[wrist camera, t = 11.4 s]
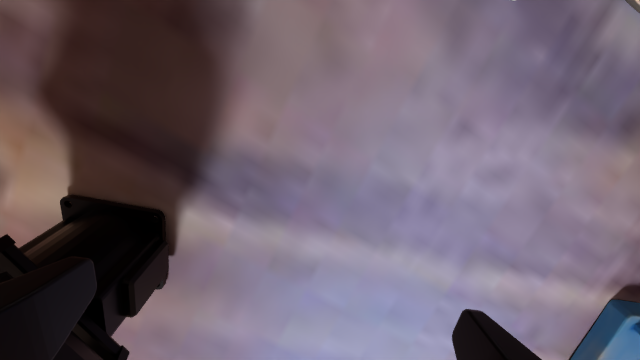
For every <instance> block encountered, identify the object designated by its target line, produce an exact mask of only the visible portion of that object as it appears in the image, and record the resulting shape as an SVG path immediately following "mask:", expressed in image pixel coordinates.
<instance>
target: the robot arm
mask: <svg viewBox="0 0 640 360" xmlns="http://www.w3.org/2000/svg"><path fill="white" fill-rule="evenodd" d="M70 202H71V203H72V204H71V203H70ZM60 205H61V211H62V217H63V221H62V222H60V223H58V224H57V225H55V226H54V227H52V228H50V229H49V230H47V231H46V232H44V233H43V234H41V235H39V236H38V237H36V238H35V239H33V240H31V241H30V242H28V243H27V244H25V245H23V246H22V247H20V248H17V247H16V246H15V245H14V244H15V243H16V242H15V241H14V240H13V239H12V238H11V237H10V236H8V235H7V234H6V235H4V236H3V237H1V238H0V360H127V358H128V355H129V351H128V350H127V349H126V348H125V347H124V346H123V345H122V346H120V345H119V344H118V343H117V342H116V341H115V340H114V339H113V338H111V336H112V335H113V334H114V332H115V331H116V330H117V328H118V327H119V326H120V324H121V323H122V322H123V320H124V319H125V318H126V317H134V316H135V315H137V314H138V312H139V311H140V309H141V308H142V307H143V305H144V304H145V303H146V301H147V300H148V299H149V297H150V296H151V294H152V293H153V292H154V290H155V289H162V288H163V286H164V285H165V284H166V274H167V273H168V243H167V241H166V232H165V215H164V213H163V212H162V211H160V210H156V209H151V208H145V207H139V206H133V205H128V204H122V203H116V202H111V201H105V200H99V199H93V198H88V197H82V196H76V195H67V196H65V197H63V198H62V199H61V200H60ZM154 216H156V217H157V218H158V219H156V218H155V217H154ZM452 341H453V346H454V350H455V354H456V358H457V360H542V359H540V358H539V357H538V356H537V355H535V354H534V353H533V352H532V351H530V350H529V349H528V348H527V347H526V346H524V345H523V344H522V343H521V342H519V341H518V340H517V339H516V338H514V337H513V336H512V335H511V334H510V333H508V332H507V331H506V330H505V329H503V328H502V327H501V326H500V325H498V324H497V323H496V322H495V321H494V320H492V319H491V318H490V317H489V316H487V315H486V314H485V313H484V312H482V311H479V310H471V309H465V310H464V311H462V313H461V315H460V317H459V320H458V322H457V324H456V326H455V328H454V330H453V334H452Z"/></svg>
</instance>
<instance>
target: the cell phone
mask: <svg viewBox="0 0 640 360" xmlns="http://www.w3.org/2000/svg"><path fill="white" fill-rule="evenodd" d="M625 1H626V2H627V3H629V4H630V5H631V6H632V7H633V8H634V9H635V10H636V11H637V12H639V13H640V0H625Z"/></svg>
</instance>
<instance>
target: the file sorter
mask: <svg viewBox="0 0 640 360" xmlns="http://www.w3.org/2000/svg"><path fill="white" fill-rule="evenodd" d="M571 360H640V303H636V302H629V301H623V300H611V301H610V302H609V303H608V304H607V306H606V307H605V309H604V310H603V312H602V313H601V315H600V316H599V318H598V319H597V321H596V323H595V324H594V326H593V327H592V329H591V330H590V332H589V333H588V334H587V336H586V337H585V339H584V340H583V342H582V343H581V345H580V346H579V348H578V349H577V351H576V352H575V353H574V355H573V357H572V358H571Z"/></svg>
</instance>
